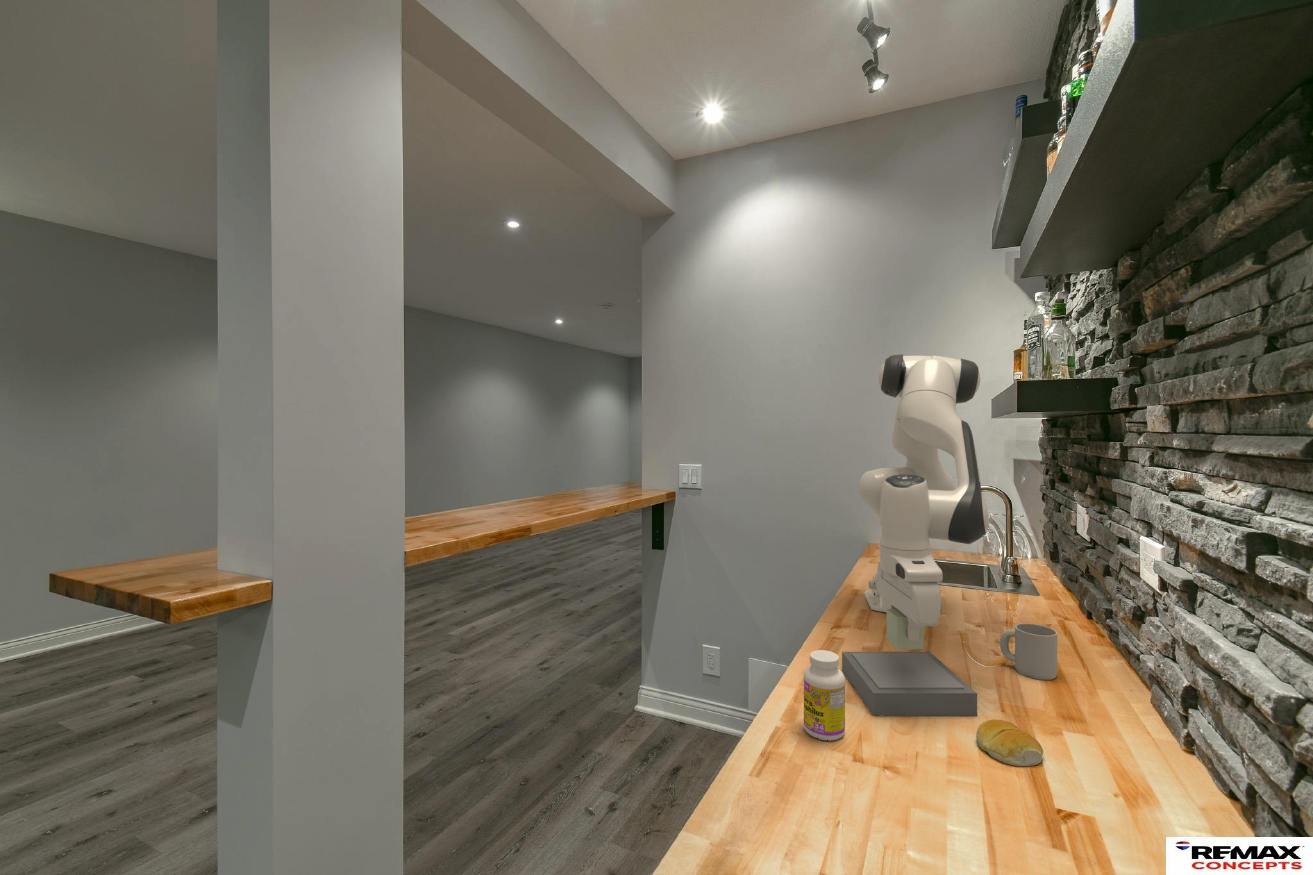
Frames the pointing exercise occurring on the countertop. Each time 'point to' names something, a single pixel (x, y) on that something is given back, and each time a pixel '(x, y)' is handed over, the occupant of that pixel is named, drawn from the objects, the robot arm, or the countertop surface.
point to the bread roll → (1009, 743)
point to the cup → (1032, 650)
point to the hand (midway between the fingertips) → (904, 633)
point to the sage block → (901, 631)
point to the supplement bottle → (824, 696)
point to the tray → (908, 684)
